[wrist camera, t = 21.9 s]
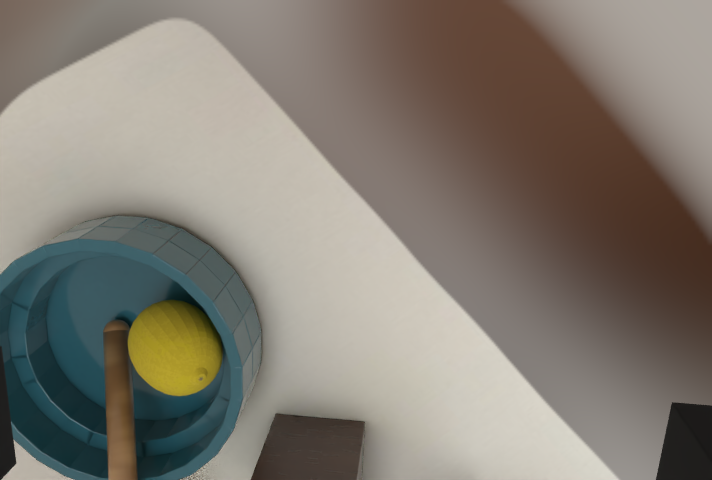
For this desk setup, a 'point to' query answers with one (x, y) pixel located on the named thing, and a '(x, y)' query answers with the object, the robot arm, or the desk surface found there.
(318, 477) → the utensil block
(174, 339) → the lemon
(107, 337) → the stirring stick
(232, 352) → the bowl
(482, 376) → the desk surface
